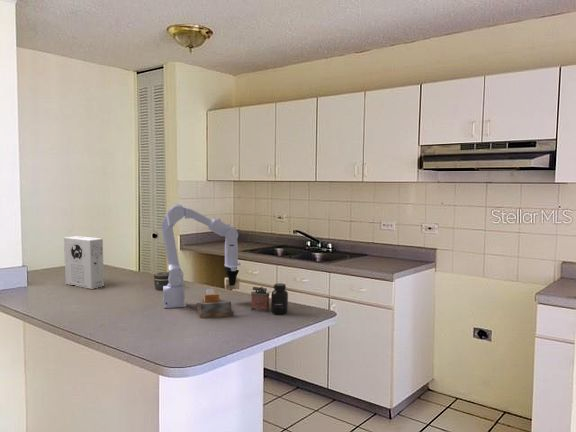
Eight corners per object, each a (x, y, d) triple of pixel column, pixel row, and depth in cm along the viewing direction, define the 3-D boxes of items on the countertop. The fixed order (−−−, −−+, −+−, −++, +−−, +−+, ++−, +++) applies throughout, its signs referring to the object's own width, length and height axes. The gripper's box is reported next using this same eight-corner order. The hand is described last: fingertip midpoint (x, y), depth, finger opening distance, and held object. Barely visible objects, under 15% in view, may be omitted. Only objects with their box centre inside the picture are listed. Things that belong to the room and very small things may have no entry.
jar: (150, 290, 244) (149, 274, 244) (162, 285, 254) (161, 271, 253) (166, 291, 241) (166, 276, 240) (178, 287, 250) (178, 272, 249)
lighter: (270, 310, 207) (270, 286, 206) (267, 312, 204) (267, 288, 203) (253, 308, 209) (252, 285, 209) (249, 310, 206) (249, 287, 205)
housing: (225, 289, 216) (225, 276, 216) (224, 287, 220) (224, 275, 219) (239, 288, 217) (239, 276, 217) (238, 286, 221) (237, 274, 221)
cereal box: (104, 286, 251) (102, 238, 249) (91, 289, 245) (89, 240, 243) (78, 282, 263) (76, 235, 261) (65, 284, 256) (63, 237, 254)
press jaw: (205, 303, 212) (205, 295, 212) (202, 296, 224) (202, 289, 223) (219, 302, 213) (218, 294, 213) (216, 295, 225) (216, 288, 225)
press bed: (199, 317, 195) (199, 304, 195) (195, 300, 224) (194, 288, 223) (232, 315, 198) (232, 302, 198) (223, 298, 227) (223, 286, 227)
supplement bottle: (275, 316, 198) (275, 286, 197) (268, 312, 204) (268, 283, 203) (290, 314, 201) (290, 285, 200) (283, 310, 207) (283, 282, 206)
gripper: (242, 256, 211) (243, 287, 212) (237, 251, 225) (237, 280, 226) (226, 256, 210) (226, 288, 211) (222, 251, 224) (222, 281, 225)
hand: (231, 284), depth 218 cm, fingers closed on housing, 4 cm apart
